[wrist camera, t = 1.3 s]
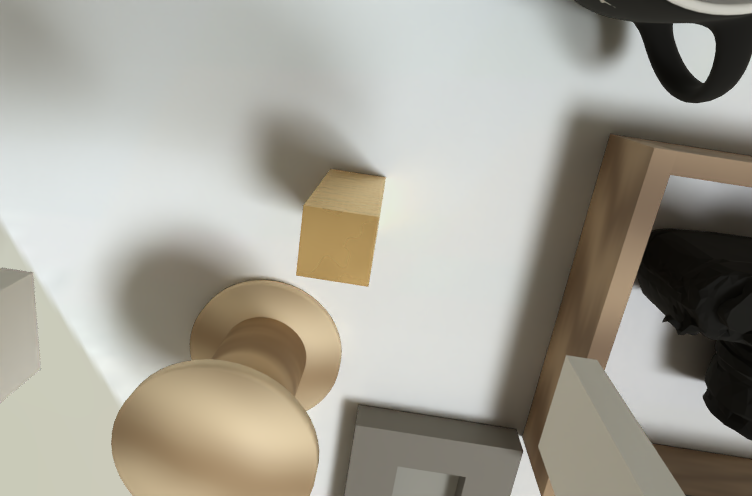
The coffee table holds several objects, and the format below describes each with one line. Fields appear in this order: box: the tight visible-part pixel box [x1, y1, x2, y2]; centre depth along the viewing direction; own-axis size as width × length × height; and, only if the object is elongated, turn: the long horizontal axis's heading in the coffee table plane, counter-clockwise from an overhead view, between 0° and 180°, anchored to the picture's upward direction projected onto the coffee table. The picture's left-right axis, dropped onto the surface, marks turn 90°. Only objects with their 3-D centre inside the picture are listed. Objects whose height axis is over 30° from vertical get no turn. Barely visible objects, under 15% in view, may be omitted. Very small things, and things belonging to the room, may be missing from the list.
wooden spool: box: [111, 280, 342, 496], centre depth 27 cm, size 9×9×10 cm
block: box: [296, 169, 386, 287], centre depth 25 cm, size 3×3×8 cm
